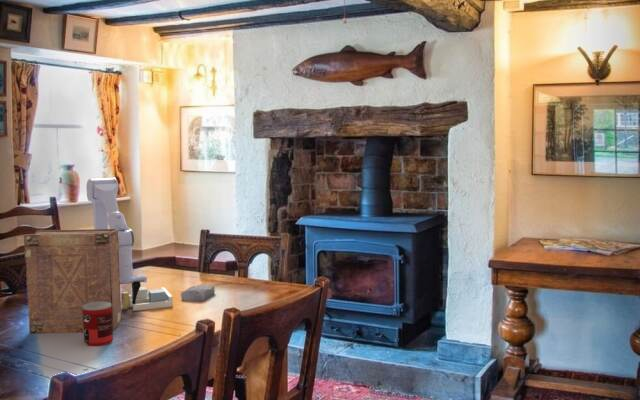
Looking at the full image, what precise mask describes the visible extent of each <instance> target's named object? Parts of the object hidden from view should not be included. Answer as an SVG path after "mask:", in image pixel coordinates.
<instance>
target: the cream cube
mask: <svg viewBox="0 0 640 400" xmlns="http://www.w3.org/2000/svg"><path fill="white" fill-rule="evenodd" d="M148 293H149V290H148V288H147V287H146V286H140V289H139V291H138V293H137V297H136V299H141V298H148ZM130 295H131V300H132V287H131V288H130Z"/></svg>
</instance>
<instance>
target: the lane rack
mask: <svg viewBox="0 0 640 400" xmlns="http://www.w3.org/2000/svg"><path fill="white" fill-rule="evenodd" d="M160 289H164V291H165V292H166V301H159V302H150V303H149V292H148V298H141V299H136V302H135V304H133V303H132V300H131V294H129V306H133V308H132V311H133V312H134V311H135V312H136V311H143V310H144V311H145V310H152V309H154V310H155V309H161V308H170V307H171V308H172V307H174V304H173V303H174V302H173V301H174V300H173V298H174V297H173V295H172V294H171V293H170V292H169V291H168V290H167V289H166V287H160Z"/></svg>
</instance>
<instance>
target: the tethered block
mask: <svg viewBox="0 0 640 400" xmlns="http://www.w3.org/2000/svg"><path fill="white" fill-rule="evenodd" d="M148 293H149V303H150V302H159V301H166V292H165V291H164V289H161V288H157V289H149V290H148ZM129 295H130V292H128V291H125V292H120V296H121V310H126V311H128V310H130V309H133V306H130V301H129Z"/></svg>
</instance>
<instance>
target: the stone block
mask: <svg viewBox="0 0 640 400" xmlns="http://www.w3.org/2000/svg"><path fill="white" fill-rule="evenodd" d="M215 291H216V290H215V286H214V285H207V284H199V285H195V286H193V285H192V286H190V287H188V288H187V289H185V290H184V291H182V292H181V293H180V298H181V300H182V301H189V302H190V301H191V302H192V301H197V302H203V301H206V300H207V299H209V298H210V297H212V296H213V295H214V294H215V293H216V292H215Z"/></svg>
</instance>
